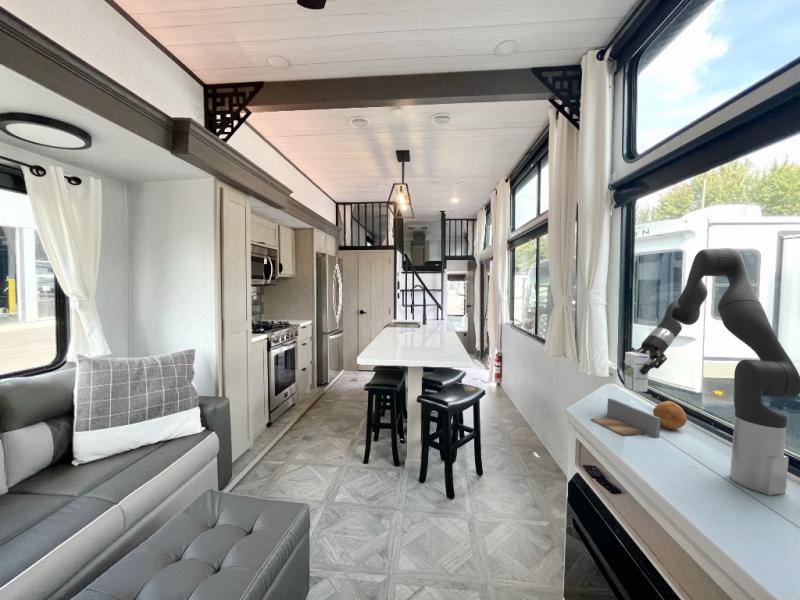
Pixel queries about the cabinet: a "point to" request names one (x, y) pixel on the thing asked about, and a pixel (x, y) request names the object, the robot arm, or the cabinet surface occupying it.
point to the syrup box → (635, 371)
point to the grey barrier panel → (634, 417)
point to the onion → (670, 415)
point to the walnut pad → (618, 426)
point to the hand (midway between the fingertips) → (633, 370)
